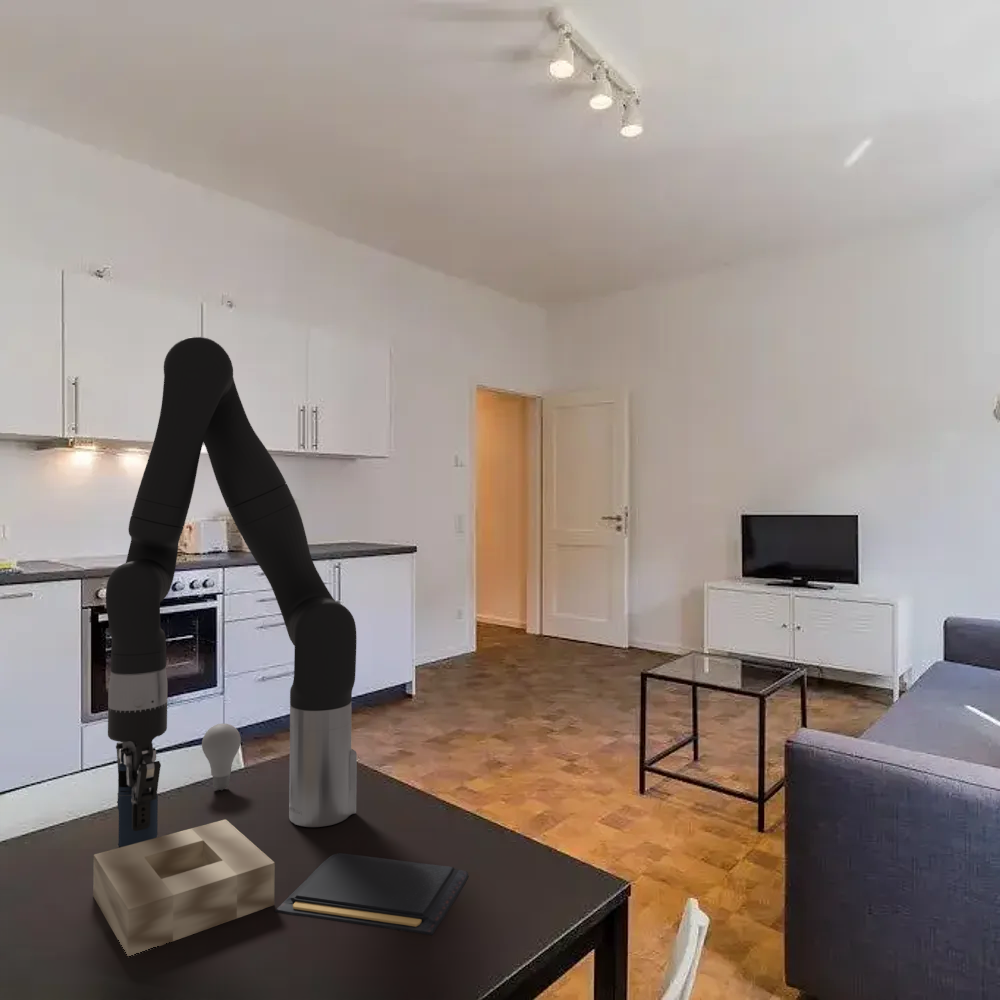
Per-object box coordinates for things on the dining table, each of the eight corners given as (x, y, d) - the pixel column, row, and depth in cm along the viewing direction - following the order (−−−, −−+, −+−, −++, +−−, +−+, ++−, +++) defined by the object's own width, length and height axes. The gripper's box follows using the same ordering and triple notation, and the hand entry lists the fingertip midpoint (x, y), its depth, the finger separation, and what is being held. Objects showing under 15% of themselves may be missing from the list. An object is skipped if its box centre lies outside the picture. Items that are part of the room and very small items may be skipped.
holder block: (225, 856, 100) (225, 819, 100) (274, 904, 88) (274, 862, 88) (93, 896, 90) (93, 854, 90) (127, 957, 77) (128, 909, 77)
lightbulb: (227, 798, 120) (227, 730, 120) (193, 795, 121) (194, 728, 121) (247, 784, 126) (248, 720, 126) (215, 782, 127) (215, 717, 127)
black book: (472, 863, 96) (430, 927, 81) (472, 878, 96) (430, 944, 81) (333, 843, 101) (270, 900, 86) (333, 857, 101) (270, 916, 86)
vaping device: (121, 839, 105) (122, 754, 105) (159, 837, 105) (160, 753, 106) (113, 847, 102) (114, 760, 102) (153, 845, 103) (154, 759, 103)
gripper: (181, 707, 101) (180, 833, 101) (152, 687, 112) (150, 801, 112) (121, 717, 96) (119, 849, 96) (97, 695, 107) (95, 814, 107)
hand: (136, 822), depth 104 cm, fingers closed on vaping device, 3 cm apart
